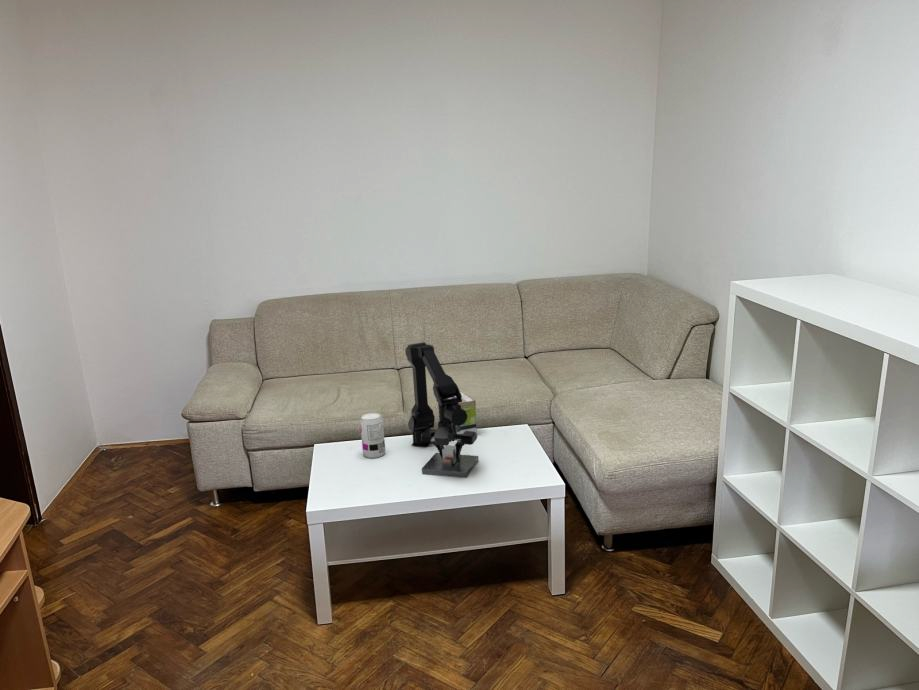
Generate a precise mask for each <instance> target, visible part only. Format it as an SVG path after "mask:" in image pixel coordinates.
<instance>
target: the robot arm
mask: <svg viewBox="0 0 919 690" xmlns="http://www.w3.org/2000/svg"><path fill="white" fill-rule="evenodd" d="M404 350H405V356H406V357H407V358H406V359H407V361H408V363H409V364H410V366H411V367H412V380H413V392H414V393H413V395H414V405H413V407H412V408H411V411H410V414H411V415H410V418H409V420H408V422H407V426H408V429H409V430H410V431H411V432H412V444H411V446H412V447H422V448H423V447H424V448H428V447H429V446H430V445H434V446H435V448H436V449H437V451H438V453H440V455H441V458H442V459H443V455H442V449H443V448H444V447H445V446H446V445H449V444H450V442H455V439H456V442H455V444H454V446H456V460H458V459H459V456H460V454H461V453H462V452H461V451H462V449H463V446H465V445H467V446H468V445H471V446H472V445H474V443H475V442H476V440H477V439H478V433H477V434H476V432H475V431H465V432H464V433H463V434H457V432H458V429H457V428H456V426H461V425H463V424H464V423H465V422H466V420H467V413H466V412H465V410H463V409H462V408H461V405H459V404H458V403H460V402H462V399H461V398H462V396H461V393H460V391H461V390H460V388H459V387H458V385H457V383H456V382H455V380H454V379H453V378H452V377H451V376H450V375H448V374H447V373H446V372H445V370H444V368H443V366H442V365H441V362H440V361H439V359H438V357H437V355H436V352H435V347H434V346H433V345H432V344H427V343H426V342H424V341H422V342H417V343H411V344H408V345H407V346H406V348H405V349H404ZM426 370H427V371H428V374H429V375H430V377H431V380H432V382H433V386H432V390H433V395H434V397H435V399H436V402H437V403H438V404H437V405H438V406H437V408H438V420H439V421H437V423H438V424H437V429H436V428H435V419H436V417H435V415H434V410H433V409H432V408H431V407H430V405H429V401H428V400H429V399H428V388H427V387H428V386H427V374H426V373H427V372H426ZM455 396H456V398H452V399H448V398H451V397H455Z"/></svg>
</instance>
